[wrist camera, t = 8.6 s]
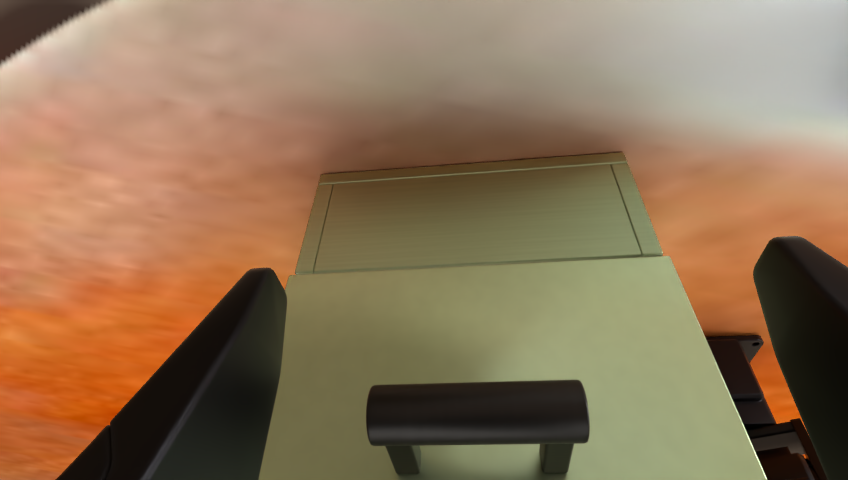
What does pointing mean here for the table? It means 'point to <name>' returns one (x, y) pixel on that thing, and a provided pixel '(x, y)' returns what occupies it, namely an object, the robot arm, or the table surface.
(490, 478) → the bin lid
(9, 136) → the table surface
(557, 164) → the waste bin
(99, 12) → the table surface
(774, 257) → the robot arm
